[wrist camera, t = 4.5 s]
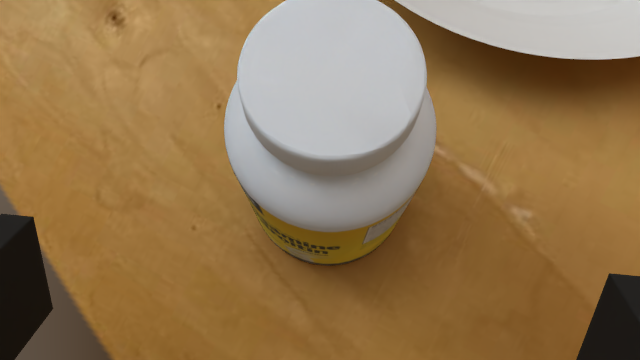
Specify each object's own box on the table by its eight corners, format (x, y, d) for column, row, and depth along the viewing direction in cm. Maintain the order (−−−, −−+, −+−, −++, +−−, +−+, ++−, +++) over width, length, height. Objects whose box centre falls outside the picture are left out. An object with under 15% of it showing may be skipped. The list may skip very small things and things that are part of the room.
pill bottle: (231, 165, 25) (156, 18, 14) (358, 105, 26) (382, -79, 15) (295, 295, 23) (266, 246, 12) (428, 227, 24) (516, 122, 13)
